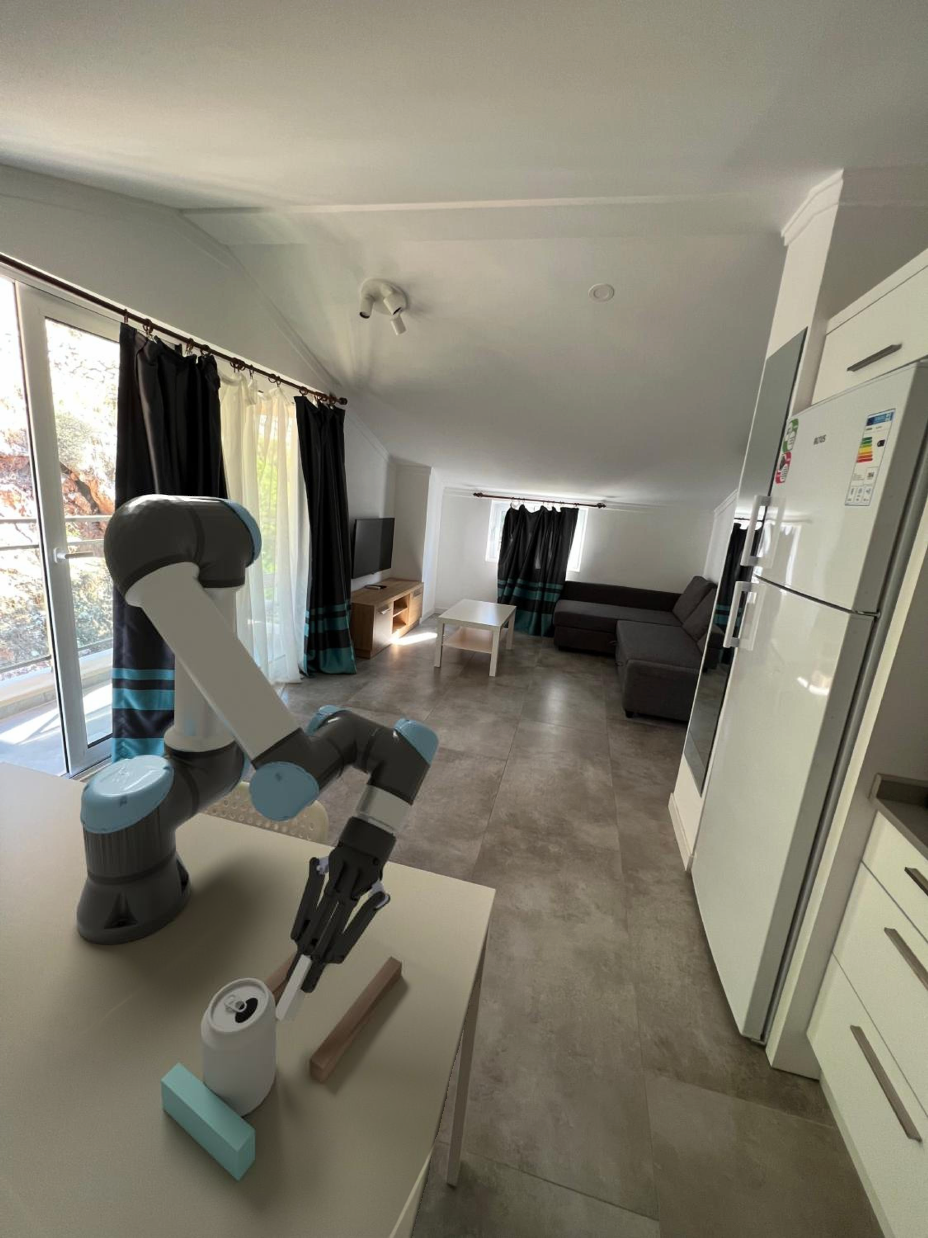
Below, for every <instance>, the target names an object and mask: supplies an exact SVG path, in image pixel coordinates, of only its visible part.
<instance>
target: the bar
mask: <svg viewBox="0 0 928 1238" xmlns="http://www.w3.org/2000/svg"><path fill="white" fill-rule="evenodd" d="M160 1087H161V1101H162V1102H161V1103H162V1104H161V1105H162V1109H163V1110H164V1111H165V1112H166V1113H167V1114H168V1115H169V1116H170V1117H171V1118H172V1119H173V1120H174V1121H175V1122H177V1124H178V1125H179V1126H180V1127H182V1129H183V1130H185V1132H186V1133H188V1135H190V1137H192V1139H194V1140H195V1141H196V1142H197V1143H198V1144H199V1145H200V1146H201V1147H202V1148H203V1149H204V1150H205V1151H206V1152H207V1153H208V1154H209V1155H210V1156H212V1158H213V1159H214V1160H215V1161H216V1162H217V1163H218V1164H219V1165H220V1166H221V1167H222V1168H224V1169H225V1170H226V1171H227V1172H228V1173H229V1175H231V1177H233V1178H234V1179H235V1180H236V1181H237V1182H240V1180H241V1179H242V1178H243V1176H244V1175H245V1174H246V1172H247V1171H248V1170H249V1168H250V1167H251V1166H252V1164H253V1163H254V1162H255V1160H256V1130H255V1129H254V1128H253V1127H252V1126H251V1125H250V1124H249V1123H248V1122H246V1121H245V1120H244V1119H243V1118H242V1116H241V1117H240V1116H239V1115H238V1114H236V1113H235V1112H234V1111H233V1110H232V1109H231V1108H230V1107H229V1106H227V1105H226V1104H225V1103H224V1102H223V1101H222V1100H221V1099H220V1098H218V1097H217V1096H216V1095H215V1094H214V1093H213V1092H212V1091H211V1090H209V1089H208V1088H207V1087H206V1086H205V1085H204V1084H203V1081H202V1082H201V1080H199V1079H198V1077H196V1076H195V1075H194V1074H193V1073H192V1072H190V1071H189V1069H187V1068H186V1067H185V1066H184V1065H183V1064H181V1063H180V1062H177V1063H176V1064H175V1065H174V1066H173V1067H172V1068H171V1069H170V1070H168V1072H167V1073H166V1074H165V1075H164V1076H163V1077H162V1078H161V1079H160Z"/></svg>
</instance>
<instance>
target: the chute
mask: <svg viewBox="0 0 928 1238" xmlns="http://www.w3.org/2000/svg"><path fill="white" fill-rule="evenodd" d="M328 923H329V922H328ZM327 925H328V924H327ZM326 927H327V926H326ZM325 930H326V928H325ZM324 932H325V931H324ZM323 934H324V933H323ZM322 936H323V935H322ZM321 938H322V937H321ZM320 940H321V939H320ZM319 942H320V941H319ZM318 944H319V943H318ZM317 947H318V945H317ZM317 947H316V949H317ZM297 950H298V948H297V949H296V950H295V951H294V952H293V953H292V954H291V955H290V956H289V957H288V958H287V959H286V960H285V961H284V962H283V963H282V964H281V965H280V966H279V967H278V968H277V969H276V970H274V972H272V974H271V975H269V977H268V978H267V979H265V980H264V981H263V983H265V985H266V986H267V988H268V989H269V990H270V991H271V993H272V994H273V996H274V999H275V1003H276V1002H277V1001H278V1000H280V999H281V997H282V995H283V993H284V991H285V988H286V986H287V984H288V982H289V981H288V980H286V974H287V972H288V970H289V968H290V966H291V964H292V961H293V959H294V957H295V955H296V953H297ZM402 970H403V963H402V962H401V961H400V960H398V959H396V958H395V957H393V956H391V955H390V956H389V958H388V959H387V960H386V961H385V963H384V964H383V965H382V967H381V968H380V969H379V970H378V971H377V973H376V974H375V976H373V978H372V979H371V980H370V982H369V983H368V984H367V985H366V987H364V990H362V992H361V993H360V994H359V995H358V997H357V998H356V1000H355V1001H354V1002H353V1003H352V1005H351V1006H350V1007H349V1008H348V1010H347V1011H346V1012H345V1013H344V1015H343V1016H342V1018H341V1019H340V1020H339V1021H338V1022H337V1024H336V1025H335V1026H334V1028H333V1029H332V1030H331V1031H330V1033H329V1034H328V1035H327V1037H326V1038H325V1039H324V1040H323V1042H322V1043H321V1044H320V1045H319V1046H318V1048H317V1050H316V1051H315V1052H314V1053H313V1054H312V1055H311V1057H310V1058H309V1074H310V1075H311V1076H312V1077H314V1078H315V1079H316V1080H317V1081H319V1082H320V1083H321V1084H323V1083H324V1081H326V1079H327V1078H328V1076H329V1075H330V1074H331V1072H332V1071H333V1070H334V1068H335V1066H336V1065H337V1064H338V1062H339V1061H340V1060H341V1058H342V1057H343V1056H344V1054H345V1053H346V1052H347V1050H348V1049H349V1048H350V1046H351V1045H352V1043H353V1042H354V1041H355V1039H356V1038H357V1036H359V1034H360V1032H361V1031H362V1029H363V1028H364V1026H366V1024H367V1023H368V1021H369V1020H370V1019H371V1018H372V1016H373V1015H374V1013H375V1012H376V1010H377V1009H378V1008H379V1006H380V1005H381V1003H382V1002H384V1001H383V1000H385V998H386V997H387V995H388V994H389V993H390V991H391V990H392V988H393V987H394V985H395V984H396V983H397V982H398V981H399V979H400V977H401V976H402Z"/></svg>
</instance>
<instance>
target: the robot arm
mask: <svg viewBox="0 0 928 1238" xmlns="http://www.w3.org/2000/svg"><path fill="white" fill-rule="evenodd" d="M262 543H263V541H262V534H261V529H260V527H259V524H258V522H257V521H256V519H255V518H254V517H253V516H252V515H251V513H250V511H249V510H248V509H247V508H246V507H244V506H243V505H242V504H240V503H239V502H237V501H234V500H231V499H226V498H219V497H215V496H196V495H194V496H193V495H192V496H190V495H189V496H188V495H168V494H160V493H158V494H157V493H155V494H145V495H139V496H136V497H134V498H131V499H130V500H128V501H126V502H124V503H123V504H122V505H121V506H119V507H118V508H117V509H116V510H115V511H114V512H113V514H112V516H111V517H110V519H109V520H108V522H107V525H106V528H105V530H104V534H103V555H104V561H105V565H106V567H107V570H108V573H109V575H110V578H111V580H112V582H113V584H114V586H115V587H116V589H117V590H118V592H119V593H120V594H121V596H122V597H123V600H124V601H125V602H126V603H127V604H128V605H130V606H133V607H136V608H137V607H138V608H141V609H142V610H143V612H144V613H145V615H146V616H147V618H148V619H149V620H150V621H151V623H152V625H153V626H154V628H155V629H156V630H157V632H158V634H159V635H160V636H161V637H162V639H163V640H164V642H165V643H166V644H167V646H168V647H169V649H170V650H171V652H172V653H173V654H174V707H173V708H174V713H173V714H174V716H173V717H174V719H173V720H174V722H173V725H172V726H171V727H169V728H168V729H167V730H166V731H165V733H164V735H163V753H162V755H155V754H141V755H135V756H134V757H133V758H130V759H129V758H128V757H127V758H123V759H121V760H117V761H115V762H113V763H111V764H109V765H107V766H105V767H104V768H102V769H101V770H99V771H98V772H97V773H95V774H94V775H93V776H92V777H90V779H89V780H88V781H87V783H86V784H85V786H84V788H83V789H82V790H83V791H82V793H81V796H80V797H81V799H80V802H81V803H80V813H79V820H80V823H81V825H82V832H83V843H84V853H85V855H84V856H85V862H86V864H85V865H86V873H87V876H86V879H85V882H84V886H83V888H82V891H81V895H80V898H79V902H78V904H77V906H76V907H77V908H76V915H75V916H76V924H77V929H78V932H79V935H81V936H82V937H83V938H84V939H85V940H86V941H88V942H92V943H95V944H99V945H119V944H122V943H123V944H124V943H128V942H132V941H135V940H138V939H141V938H144V937H146V936H148V935H151V934H152V933H155V932H156V931H158V930H160V929H162V928H163V927H165V926H166V925H168V924H169V923H171V922H172V920H174V919H175V918H176V917H177V916H178V915H179V914H180V913H181V912H182V911H183V910H184V908H185V906H186V905H187V904H188V901H189V899H190V896H191V877H190V874H189V871H188V870H187V868H186V866H185V864H184V862H183V860H182V858H181V856H180V854H179V852H178V851H177V838H176V837H177V836H176V831H177V829H178V828H180V826H182V825H183V824H185V823H187V821H189V820H191V819H193V818H194V817H195V816H197V815H198V814H200V813H201V812H203V811H204V810H205V809H207V808H208V807H210V806H211V805H213V804H215V803H216V802H217V801H219V800H221V799H222V798H224V797H225V796H227V795H228V794H230V793H231V792H233V790H235V788H236V787H237V786H239V785H240V784H241V783H242V782H243V781H244V779H246V776H247V774H248V773H249V771H250V767H251V765H252V767H253V769H254V770H255V772H254V773H253V774H252V776H251V778H250V780H249V785H248V793H249V794H250V796H251V799H250V801H251V804H252V805H253V807H254V808H255V810H256V811H257V812H258V813H259V814H260V815H261V816H263V817H264V818H266V819H268V820H270V821H275V822H286V821H289V820H292V819H294V818H295V817H297V816H298V815H299V814H301V813H302V812H303V811H304V810H305V809H306V808H308V807H310V806H312V805H313V804H314V803H315V802H316V800H317V799H318V798H319V797H321V795H322V794H324V793H325V792H326V790H327V789H329V788H330V787H331V786H332V785H333V784H334V783H335V782H336V781H337V780H339V779H340V778H341V777H342V776H343V775H344V774H345V773H346V772H347V771H348V770H349V769H351V768H352V769H354V770H357V771H359V772H362V773H363V774H366V775H369V777H368V780H367V782H366V783H365V786H364V788H363V790H362V791H361V794H360V796H359V798H358V800H357V802H356V803H355V805H354V807H353V810H352V811H353V812H354V813H355V815H354V816H353V815H352V816H350V817H349V818H348V820H347V822H346V824H345V826H344V828H343V829H342V832H341V833H340V835H339V837H338V843H337V844H336V846H335V847H334V848H333V849H332V850H331V851H330V852H329V854H328V855H326V856H323V857H315V856H313V857H311V858H310V859H309V862H308V877H307V879H306V880H307V881H306V884H305V887H304V890H303V893H302V896H301V899H300V903H299V906H298V909H297V912H296V916H295V919H294V923H293V924H292V925H293V926H292V929H291V930H290V931H291V933H290V940H292V941H294V943H295V944H296V946H297V949H298V950H297V949H296V950H297V953H296V955H295V957H294V959H293V961H292V964H291V966H290V968H289V970H288V972H287V974H286V980H288V981H289V982H288V984H287V986H286V988H285V991H284V993H283V994H282V995H281V996H280V998H279V1001H278V1003H277V1005H276V1019H277V1020H279V1021H280V1022H289V1021H295V1019H296V1016H297V1015H298V1012H299V1011H300V1010H299V1009H300V1008H301V1006H302V1003H303V1001H304V999H305V998H306V995H307V994H311V993H313V991H315V990H316V987H317V985H318V983H319V981H320V978H321V977H322V975H323V972H324V970H325V968H326V966H328V965H329V964H333V965H334V964H335V965H341V964H343V962H344V961H345V960H346V958H347V956H348V955H349V954H350V953H351V951H352V950H353V948H354V947H355V945H356V944H357V942H358V941H359V939H360V938H361V936H362V935H363V933H364V932H365V930H366V929H367V928H368V927H369V925H370V923H371V922H372V921H373V919H374V918H375V916H376V915H377V913H378V912H379V911H380V910H382V909H383V908H384V907H386V905H387V904H389V903H390V902H391V895H390V894H389V893H387V892H386V890H385V888H384V886H383V884H382V880H383V878H384V873H383V872H384V868H385V865H386V864H387V862H388V861H389V858H390V856H391V854H392V853H393V849H394V847H395V845H396V844H397V841H398V840H397V837H396V836H395V834H398V833H401V831H402V829H403V827H404V825H405V823H406V821H407V819H408V816H409V813H410V811H411V809H412V806H413V804H414V802H415V799H416V797H417V795H418V794H419V792H420V789H421V788H422V785H423V783H424V781H425V778H426V776H427V774H428V772H429V770H430V769H431V767H432V762H433V760H434V756H435V754H436V752H437V749H438V747H439V744H440V740H439V737H438V736H437V733H435V732H434V731H433V730H432V729H431V728H430V727H428V726H426V725H425V724H423V723H421V722H418V721H416V720H411V719H408V718H400V719H399V720H397V722H396V724H395V725H393V728H392V727H390V726H385V725H383V724H381V723H378V722H376V721H374V720H371V719H369V718H367V717H364V716H362V715H360V714H357V713H355V712H353V711H351V710H350V709H345V708H341V707H338V706H336V705H331V704H327V705H323V706H321V707H320V708H319V709H317V710H316V712H315V714H314V715H312V716H311V718H310V720H309V722H307V723H308V724H307V726H306V729H305V731H304V730H303V728H302V727H301V726H300V724H299V723H298V721H297V720H296V719H295V716H293V714H292V713H291V711H290V710H289V709H288V707H287V705H286V704H285V702H284V701H283V700H282V699H281V697H280V696H279V694H278V693H277V691H276V690H275V688H274V687H273V686H272V684H271V683H270V681H269V680H268V679H267V677H266V676H265V674H264V673H263V671H262V670H261V669H260V667H259V666H258V664H257V663H256V661H255V660H254V659H253V657H252V655H251V654H250V653H249V651H248V650H247V648H246V647H245V646H244V644H243V643H242V641H241V640H240V638H239V637H238V636H237V633H235V631H234V615H235V611H234V610H235V594H236V593H237V592H238V591H240V590H241V589H242V588H244V586H245V585H246V569H247V568H249V567H251V565H253V564H254V563H255V561H256V560H257V559H259V557H260V555H261V551H262V545H263V544H262ZM326 874H328V880H327V882H326V884H325V886H324V883H325V880H326ZM323 887H324V888H323ZM368 892H369V893H368ZM322 893H323V894H322ZM367 893H368V895H367V897H368V899H366V901H365V902H363V904H362V905H361V906H360V908H359V909H358V910H357V912H356V914H355V915H354V917H353V918H352V919H351V920H350V917H351V916H352V913H353V911H354V909H355V908H356V907H357V906H358V904H359V901H360V900H361V897H363V896H364V895H366V894H367ZM321 895H322V897H321ZM320 898H321V899H320ZM349 920H350V922H349ZM328 922H329V923H328ZM348 922H349V923H348ZM327 924H328V925H327ZM326 926H327V927H326ZM346 926H347V927H346ZM325 928H326V930H325ZM324 931H325V932H324ZM323 933H324V934H323ZM322 935H323V936H322ZM321 937H322V938H321ZM320 939H321V940H320ZM319 941H320V942H319ZM318 943H319V944H318ZM317 945H318V947H317ZM316 947H317V949H316Z"/></svg>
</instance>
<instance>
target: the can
mask: <svg viewBox="0 0 928 1238" xmlns="http://www.w3.org/2000/svg"><path fill="white" fill-rule="evenodd" d="M276 1007H277V1005H276V1002H275V999H274V996H273V994H272V993H271V991H270V990H269V989H268V988H267V986H266V985H265V983H264V981H262V980H260V979H259V978H253V977H245V978H243V977H241V978H239V979H237V980H234V981H231V982H229V983H227V984H226V985H224V986H223V987H221V988H220V990H219V991H218V992H216V993H215V994H214V996H213V997H212V999H211V1000H210V1002H209V1004H208V1007H207V1008H206V1011H205V1012H204V1013H203V1017H202V1020H201V1022H200V1032H201V1033H200V1034H201V1035H200V1037H201V1055H202V1056H201V1057H202V1058H201V1059H202V1083H203V1084H204V1085H205V1086H206V1087H207V1088H208V1089H209V1090H211V1091H212V1092H213V1093H214V1094H215V1095H216V1096H217V1097H218V1098H220V1099H221V1100H222V1101H223V1102H224V1103H225V1104H226V1105H227V1106H229V1107H230V1108H231V1109H232V1110H233V1111H234V1112H235V1113H236V1114H238V1115H239V1116H240V1117H241V1118H242V1117H243V1116H245V1115H247V1114H249V1113H251V1112H252V1111H253V1110H255V1109H256V1108H257V1107H259V1106H260V1105H261V1103H262V1102H263V1101H264V1099H266V1097H267V1096H268V1095H269V1093H270V1091H271V1088H272V1087H273V1084H274V1082H275V1076H276V1070H277V1069H276V1068H277V1067H276V1066H277V1060H276V1059H277V1056H276V1054H277V1053H276V1052H277V1051H276V1049H277V1048H276V1046H277V1045H276V1043H277V1039H276V1038H277V1037H276V1036H277V1035H276V1032H277V1030H276V1029H277V1028H276V1026H277V1025H276V1023H277V1022H276V1020H277V1018H276Z"/></svg>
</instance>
